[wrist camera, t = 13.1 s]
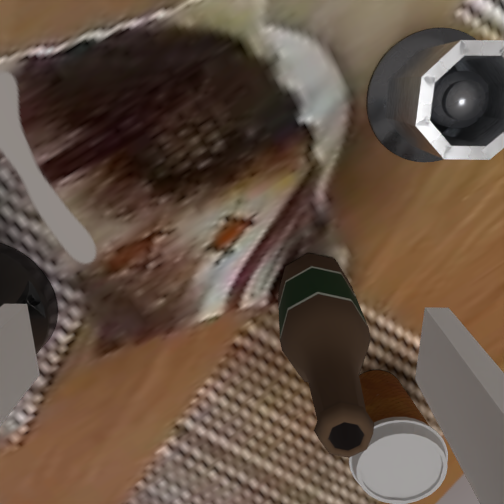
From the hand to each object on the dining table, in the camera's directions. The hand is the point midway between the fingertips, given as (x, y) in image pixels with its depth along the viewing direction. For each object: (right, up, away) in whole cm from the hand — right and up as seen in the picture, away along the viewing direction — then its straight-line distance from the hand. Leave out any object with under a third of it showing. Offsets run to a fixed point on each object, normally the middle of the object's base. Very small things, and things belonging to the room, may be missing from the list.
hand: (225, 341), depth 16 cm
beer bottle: (+8, 0, +36) cm, 37 cm away
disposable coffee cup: (+16, -14, +40) cm, 46 cm away
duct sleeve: (+18, +17, +28) cm, 38 cm away
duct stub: (+18, +18, +29) cm, 38 cm away
